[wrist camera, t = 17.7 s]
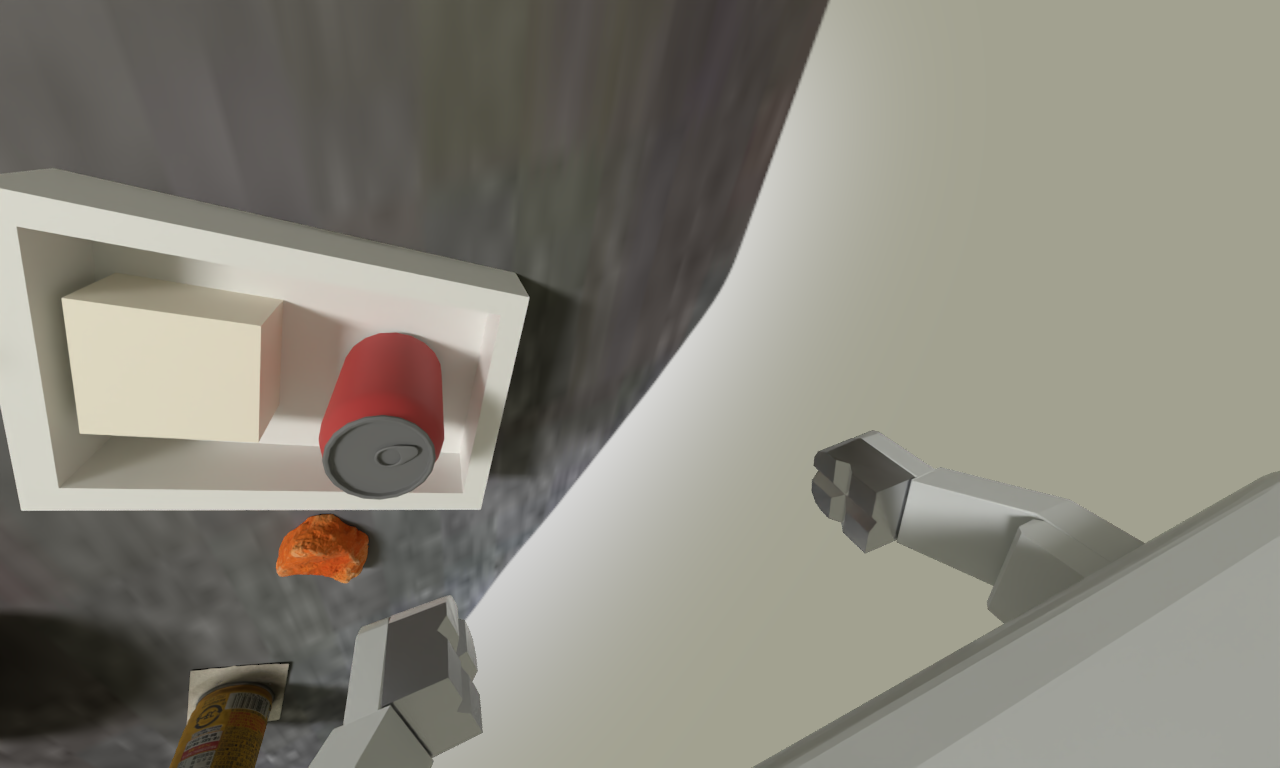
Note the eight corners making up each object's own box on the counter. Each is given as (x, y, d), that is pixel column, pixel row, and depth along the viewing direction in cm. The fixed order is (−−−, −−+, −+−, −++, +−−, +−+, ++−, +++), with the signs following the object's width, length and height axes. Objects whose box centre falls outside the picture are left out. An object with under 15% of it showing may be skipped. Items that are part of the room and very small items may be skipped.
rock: (360, 598, 46) (354, 637, 43) (211, 568, 39) (190, 611, 36) (428, 510, 45) (428, 543, 41) (285, 463, 38) (270, 497, 34)
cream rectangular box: (116, 272, 28) (61, 297, 24) (283, 299, 31) (261, 326, 27) (126, 392, 30) (79, 433, 26) (279, 404, 34) (258, 442, 30)
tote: (54, 168, 26) (-46, 178, 20) (515, 272, 37) (529, 297, 32) (89, 446, 32) (21, 510, 27) (474, 462, 43) (480, 509, 38)
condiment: (186, 729, 45) (118, 897, 35) (191, 668, 42) (119, 832, 32) (280, 717, 49) (242, 866, 39) (290, 660, 46) (251, 806, 36)
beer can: (450, 396, 39) (457, 488, 29) (362, 416, 37) (337, 521, 27) (428, 321, 35) (427, 396, 25) (330, 338, 33) (288, 427, 24)
